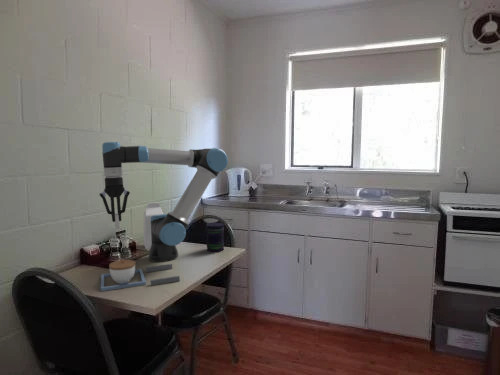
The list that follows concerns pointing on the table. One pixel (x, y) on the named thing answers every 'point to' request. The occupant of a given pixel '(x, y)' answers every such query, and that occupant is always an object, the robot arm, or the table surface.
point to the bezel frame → (122, 284)
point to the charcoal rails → (162, 280)
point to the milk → (150, 211)
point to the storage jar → (215, 237)
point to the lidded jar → (122, 270)
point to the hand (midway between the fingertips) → (117, 228)
